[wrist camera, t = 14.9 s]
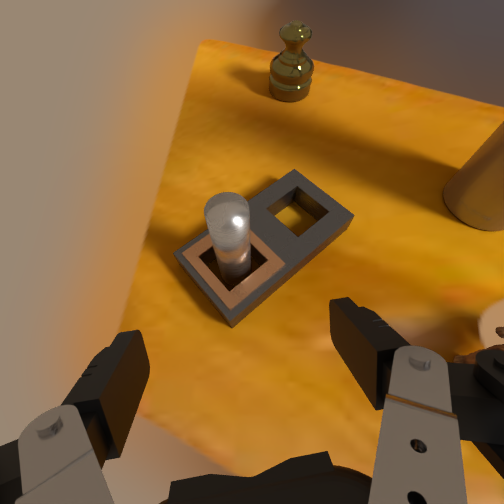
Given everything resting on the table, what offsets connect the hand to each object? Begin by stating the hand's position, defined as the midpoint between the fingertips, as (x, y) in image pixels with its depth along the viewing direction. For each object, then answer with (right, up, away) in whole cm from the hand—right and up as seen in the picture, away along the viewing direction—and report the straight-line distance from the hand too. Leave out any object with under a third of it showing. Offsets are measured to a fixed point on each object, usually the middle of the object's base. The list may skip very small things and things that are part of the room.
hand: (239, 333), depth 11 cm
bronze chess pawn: (+7, +32, +38) cm, 50 cm away
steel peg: (-1, +1, +21) cm, 21 cm away
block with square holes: (+2, +4, +22) cm, 23 cm away
